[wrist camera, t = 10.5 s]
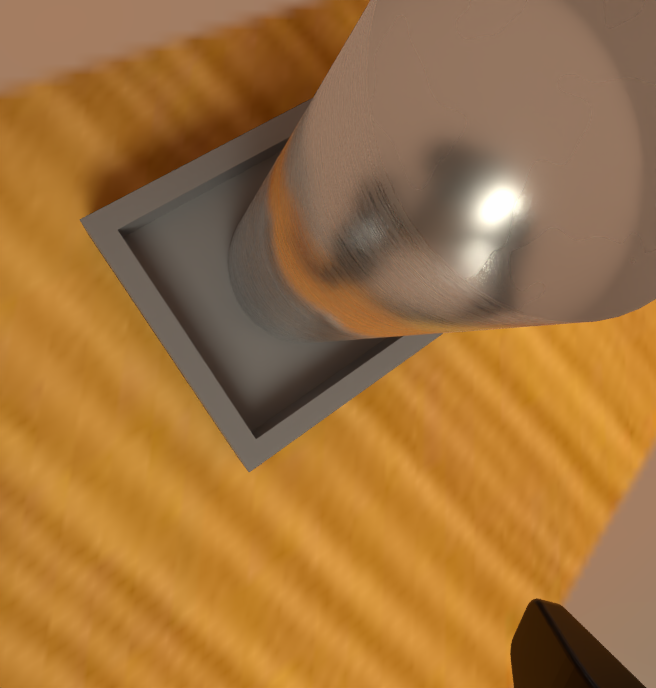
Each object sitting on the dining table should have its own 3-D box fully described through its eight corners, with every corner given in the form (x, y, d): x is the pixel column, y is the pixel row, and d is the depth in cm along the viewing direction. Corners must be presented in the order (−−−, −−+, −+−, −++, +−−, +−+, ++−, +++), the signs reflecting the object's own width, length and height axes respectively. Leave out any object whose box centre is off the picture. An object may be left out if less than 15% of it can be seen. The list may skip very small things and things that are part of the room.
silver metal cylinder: (317, 374, 21) (605, 410, 7) (194, 275, 19) (268, 97, 6) (403, 259, 22) (789, 107, 8) (292, 158, 20) (538, -211, 7)
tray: (239, 460, 21) (249, 472, 18) (88, 234, 19) (79, 219, 17) (472, 296, 24) (502, 290, 22) (357, 91, 22) (377, 63, 20)
